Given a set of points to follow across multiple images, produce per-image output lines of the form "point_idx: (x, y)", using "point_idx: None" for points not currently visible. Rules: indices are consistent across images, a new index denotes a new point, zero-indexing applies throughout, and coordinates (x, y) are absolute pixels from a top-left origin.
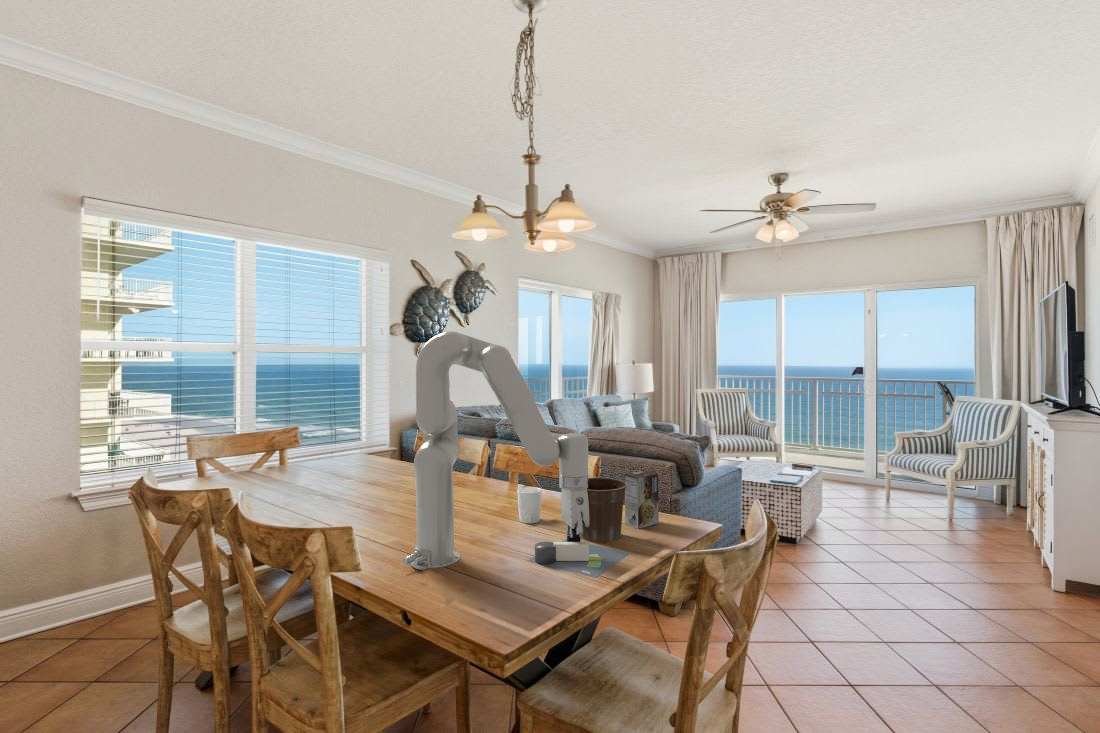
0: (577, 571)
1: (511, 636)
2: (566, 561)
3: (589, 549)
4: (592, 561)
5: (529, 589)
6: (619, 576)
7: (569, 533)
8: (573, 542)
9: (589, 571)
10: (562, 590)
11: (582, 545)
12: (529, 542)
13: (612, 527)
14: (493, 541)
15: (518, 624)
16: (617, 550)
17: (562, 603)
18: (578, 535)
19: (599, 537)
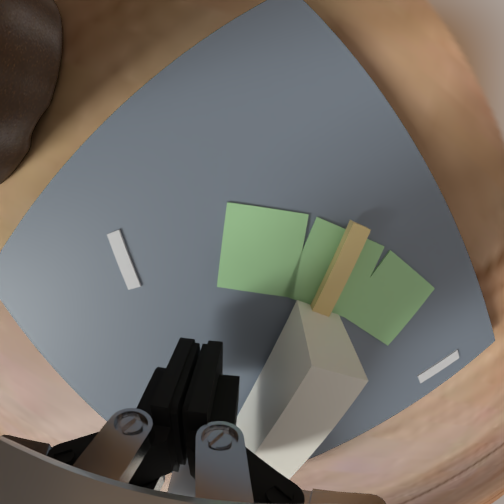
0: (409, 395)
1: (497, 490)
2: None
3: (127, 217)
4: (345, 292)
5: (390, 495)
6: (497, 210)
7: (163, 473)
8: (267, 453)
9: (439, 349)
10: (454, 437)
11: (337, 413)
12: (4, 390)
13: (7, 3)
14: None
15: (484, 490)
16: (211, 37)
17: (497, 438)
18: (260, 464)
19: (22, 105)
